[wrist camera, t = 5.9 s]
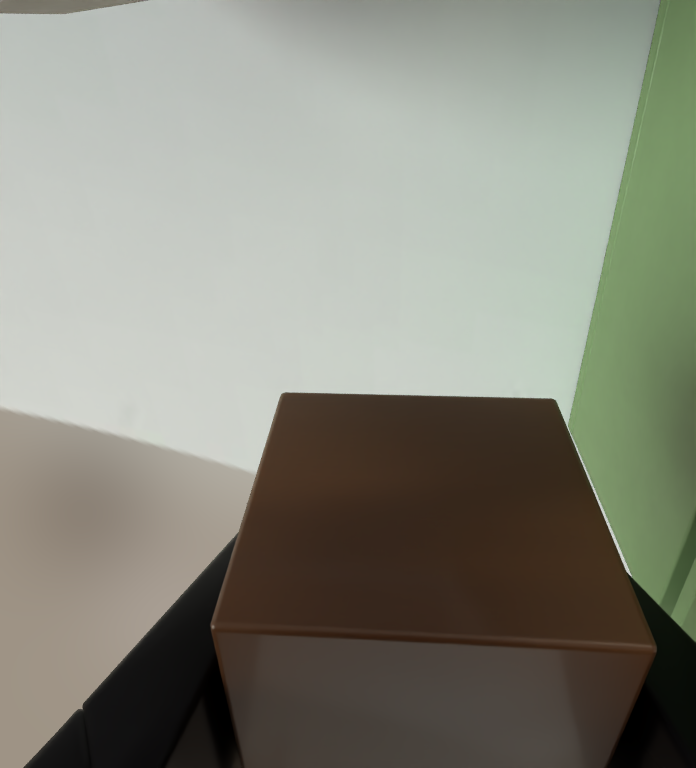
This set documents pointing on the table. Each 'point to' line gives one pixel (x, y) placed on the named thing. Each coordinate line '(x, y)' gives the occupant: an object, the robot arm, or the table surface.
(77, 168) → the table surface
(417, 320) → the table surface
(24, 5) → the first aid kit
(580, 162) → the table surface
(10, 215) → the table surface
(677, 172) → the carton
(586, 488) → the block
